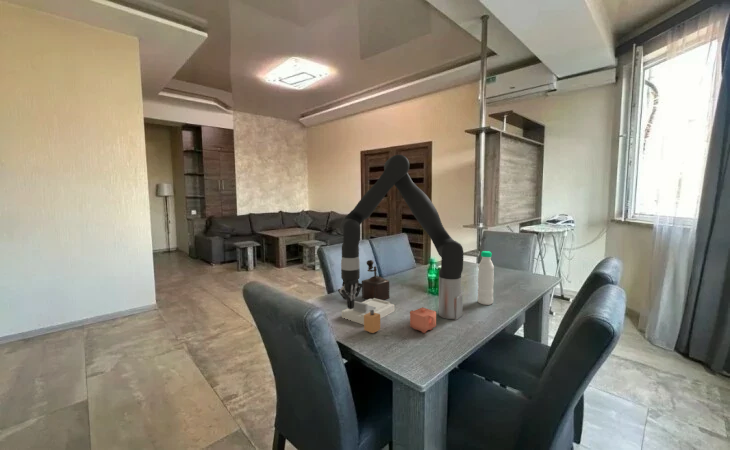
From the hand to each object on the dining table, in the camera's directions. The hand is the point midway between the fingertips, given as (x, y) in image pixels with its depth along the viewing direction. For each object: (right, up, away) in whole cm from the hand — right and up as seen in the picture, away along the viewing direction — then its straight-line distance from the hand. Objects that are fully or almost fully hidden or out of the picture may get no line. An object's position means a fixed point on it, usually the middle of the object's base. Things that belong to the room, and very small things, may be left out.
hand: (350, 308), depth 134 cm
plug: (+9, -7, -8) cm, 14 cm away
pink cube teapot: (+28, -7, -6) cm, 30 cm away
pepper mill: (+10, -3, +33) cm, 35 cm away
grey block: (+6, -2, +7) cm, 9 cm away
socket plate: (+8, -5, +9) cm, 13 cm away
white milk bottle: (+64, -3, +22) cm, 68 cm away
